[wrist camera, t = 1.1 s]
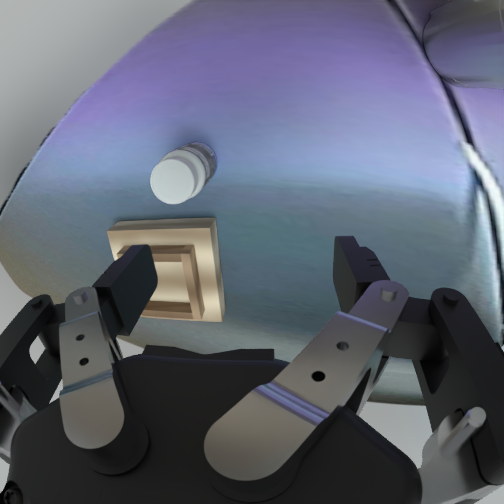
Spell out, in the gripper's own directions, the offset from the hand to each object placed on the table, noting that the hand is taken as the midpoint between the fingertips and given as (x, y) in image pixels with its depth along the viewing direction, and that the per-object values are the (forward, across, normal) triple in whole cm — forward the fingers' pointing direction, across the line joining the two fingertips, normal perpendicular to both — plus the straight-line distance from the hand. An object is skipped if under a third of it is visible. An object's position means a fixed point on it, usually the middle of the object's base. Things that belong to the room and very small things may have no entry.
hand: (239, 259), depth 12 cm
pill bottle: (+20, +7, -1) cm, 22 cm away
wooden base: (+21, +12, +12) cm, 27 cm away
